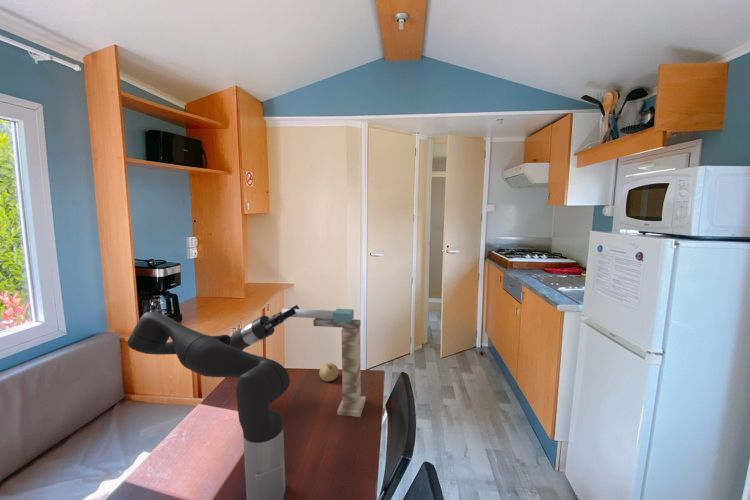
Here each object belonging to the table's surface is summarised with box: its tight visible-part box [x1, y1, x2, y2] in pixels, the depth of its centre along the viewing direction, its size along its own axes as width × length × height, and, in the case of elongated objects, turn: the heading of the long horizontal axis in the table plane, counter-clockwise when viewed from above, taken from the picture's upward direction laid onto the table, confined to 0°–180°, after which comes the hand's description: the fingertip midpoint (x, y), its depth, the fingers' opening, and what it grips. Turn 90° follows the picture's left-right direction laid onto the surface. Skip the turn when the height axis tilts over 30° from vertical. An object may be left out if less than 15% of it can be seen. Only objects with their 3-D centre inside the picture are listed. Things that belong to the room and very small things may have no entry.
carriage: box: [281, 307, 355, 323], centre depth 117 cm, size 25×5×3 cm, turn 81°
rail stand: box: [312, 318, 366, 418], centre depth 118 cm, size 17×10×32 cm, turn 81°
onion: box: [318, 362, 339, 382], centre depth 139 cm, size 8×8×7 cm
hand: (296, 309), depth 118 cm, fingers closed on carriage, 3 cm apart
